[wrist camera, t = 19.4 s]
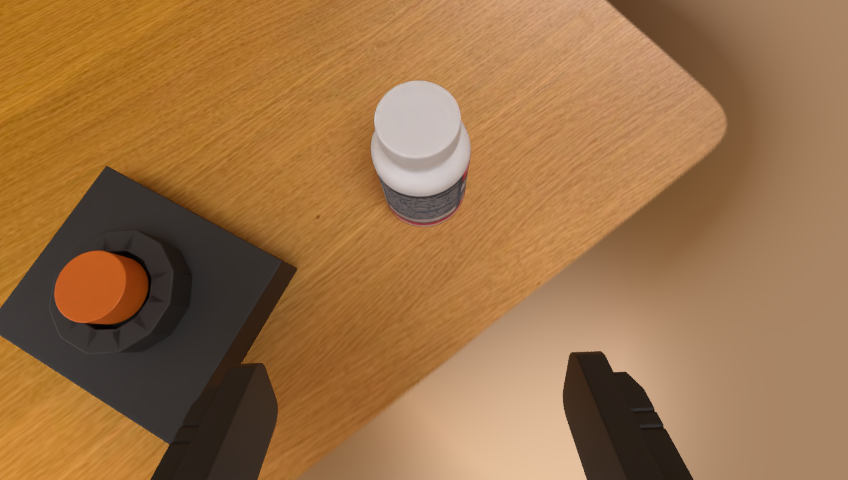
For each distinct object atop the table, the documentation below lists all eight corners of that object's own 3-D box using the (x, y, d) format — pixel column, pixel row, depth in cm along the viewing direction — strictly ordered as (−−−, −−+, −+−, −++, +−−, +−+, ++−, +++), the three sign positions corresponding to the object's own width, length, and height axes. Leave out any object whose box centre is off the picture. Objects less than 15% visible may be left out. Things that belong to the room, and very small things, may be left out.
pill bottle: (474, 215, 27) (491, 155, 19) (396, 237, 27) (376, 186, 18) (451, 143, 28) (456, 55, 20) (376, 164, 28) (348, 84, 20)
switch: (162, 275, 23) (140, 270, 21) (121, 336, 22) (95, 336, 20) (110, 246, 23) (84, 238, 21) (68, 304, 22) (38, 301, 21)
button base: (297, 268, 27) (270, 253, 22) (198, 434, 25) (146, 453, 20) (136, 181, 29) (81, 152, 24) (30, 328, 26) (-51, 325, 22)
